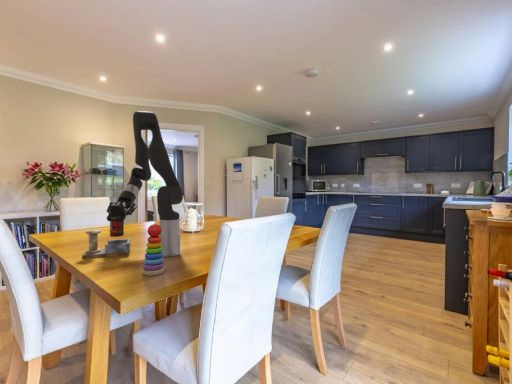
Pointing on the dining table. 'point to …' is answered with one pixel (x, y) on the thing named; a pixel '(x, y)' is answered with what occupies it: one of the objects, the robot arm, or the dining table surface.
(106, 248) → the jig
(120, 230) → the deodorant
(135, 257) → the dining table surface
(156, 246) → the stacking toy
